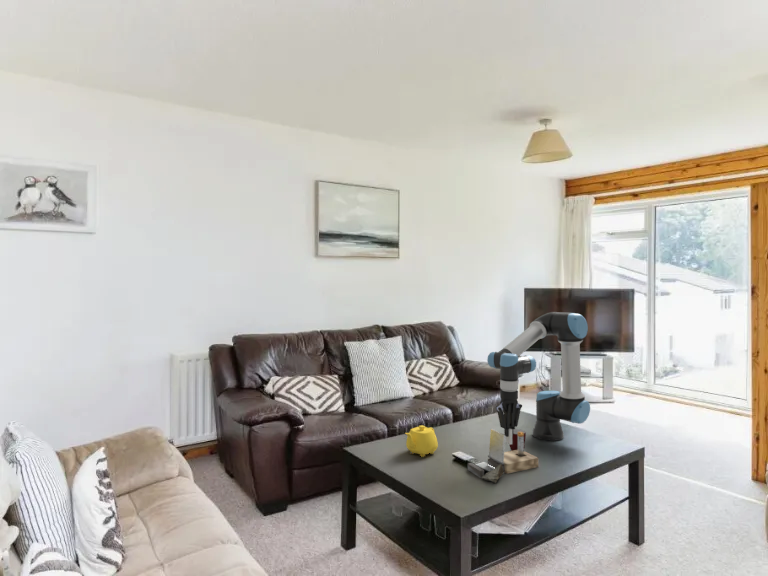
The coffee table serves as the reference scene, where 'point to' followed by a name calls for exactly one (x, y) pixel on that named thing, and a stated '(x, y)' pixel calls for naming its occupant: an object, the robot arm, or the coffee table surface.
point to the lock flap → (497, 446)
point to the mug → (516, 439)
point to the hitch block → (508, 463)
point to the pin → (520, 444)
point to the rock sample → (494, 474)
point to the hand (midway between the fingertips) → (508, 443)
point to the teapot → (422, 440)
